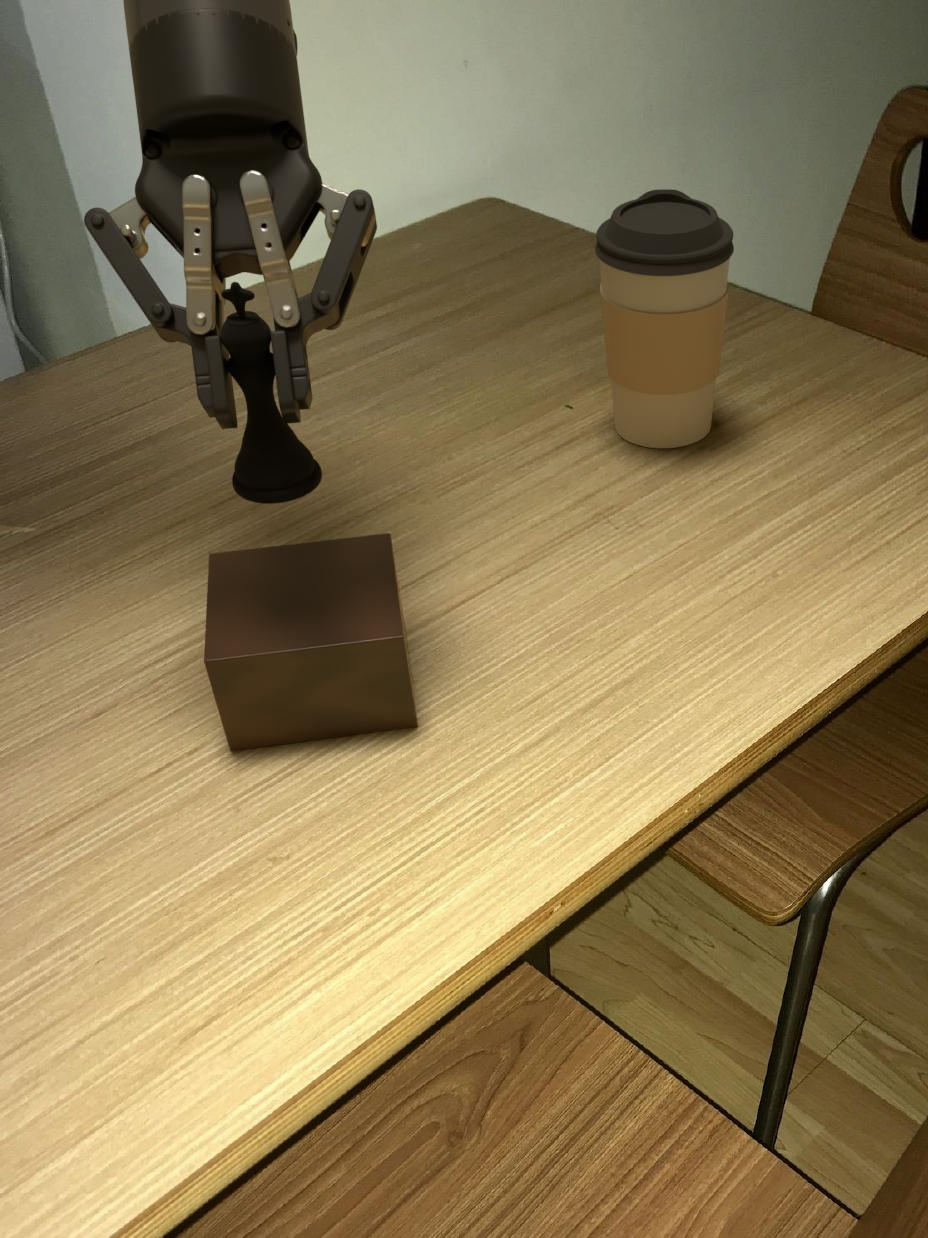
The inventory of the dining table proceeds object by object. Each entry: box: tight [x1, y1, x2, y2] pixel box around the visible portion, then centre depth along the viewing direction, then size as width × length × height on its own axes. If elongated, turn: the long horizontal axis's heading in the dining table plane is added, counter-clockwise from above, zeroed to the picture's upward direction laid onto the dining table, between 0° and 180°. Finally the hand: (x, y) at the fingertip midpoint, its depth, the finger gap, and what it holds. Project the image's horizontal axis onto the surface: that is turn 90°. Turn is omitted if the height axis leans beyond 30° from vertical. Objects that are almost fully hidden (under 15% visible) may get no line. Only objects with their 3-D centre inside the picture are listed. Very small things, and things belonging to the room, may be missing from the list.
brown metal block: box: [203, 532, 419, 752], centre depth 73 cm, size 10×10×6 cm
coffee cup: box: [594, 188, 735, 449], centre depth 90 cm, size 9×9×15 cm
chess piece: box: [221, 281, 323, 505], centre depth 63 cm, size 4×4×10 cm
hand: (259, 419), depth 62 cm, fingers closed on chess piece, 2 cm apart
